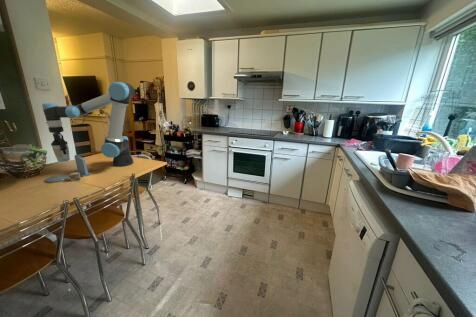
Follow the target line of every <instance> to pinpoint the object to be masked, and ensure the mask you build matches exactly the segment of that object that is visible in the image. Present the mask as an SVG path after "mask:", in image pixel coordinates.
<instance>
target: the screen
mask: <svg viewBox="0 0 476 317" xmlns="http://www.w3.org/2000/svg"><path fill="white" fill-rule="evenodd" d="M73 157H74V160H75V164H76V169H75V170H74V173H75V172H80V177H82V178H85V177H89V176H91V175H92V173H91V172H90V171H88V166H87V161H86V159H85V158H84V157H81V155H78V154H75V155H74V156H73Z"/></svg>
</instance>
